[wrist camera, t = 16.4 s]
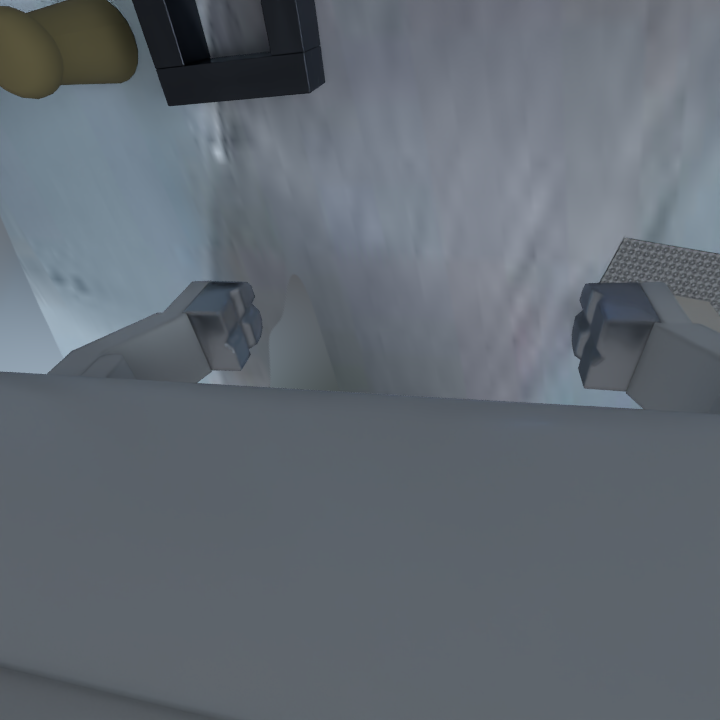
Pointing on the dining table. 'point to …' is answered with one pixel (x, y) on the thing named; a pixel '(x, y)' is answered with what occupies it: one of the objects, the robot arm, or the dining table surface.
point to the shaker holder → (232, 73)
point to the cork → (64, 47)
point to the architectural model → (673, 276)
